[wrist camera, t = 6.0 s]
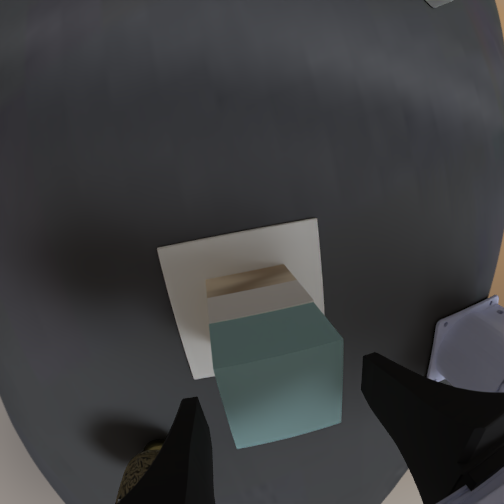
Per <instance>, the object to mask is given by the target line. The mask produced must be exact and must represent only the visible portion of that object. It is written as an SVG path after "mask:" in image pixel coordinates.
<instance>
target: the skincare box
mask: <svg viewBox="0 0 504 504" xmlns="http://www.w3.org/2000/svg"><path fill="white" fill-rule="evenodd" d="M425 1H426V2H427V3H428V4H429V5H430V6H432V7H433V8H437V7H439V6H441V5H444V4H446V3H448V2H451V1H453V0H425Z"/></svg>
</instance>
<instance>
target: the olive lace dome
mask: <svg viewBox="0 0 504 504" xmlns="http://www.w3.org/2000/svg"><path fill="white" fill-rule="evenodd" d="M164 442H165V440H154V441H151V442H149V443H148V444H147V445H146V446H145V448H144V450H143V452H142V453H140V454H138V455H136V456H135V457H134V458H133V459H132V460H131V461H130V462H129V464H128V465H127V467H126V470H125V472H124V475H123V478H122V481H121V484H120V488H119V491H118V495H117V499H116V503H115V504H117V503H118V502H119V501H120V500H121V499H122V498H123V497H124V496H125V495H126V494H127V493H128V492H129V491H130V490H131V489H132V488H133V487H134V486H135V485H136V484H137V482H138V481H139V480H140V479H141V478H142V476H143V475H144V474H145V472H146V471H147V470H148V468H149V467H150V465H151V464H152V462H153V461H154V459H155V458H156V456H157V454H158V453H159V451H160V449H161V447H162V445H163V444H164Z"/></svg>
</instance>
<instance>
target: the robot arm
mask: <svg viewBox="0 0 504 504" xmlns="http://www.w3.org/2000/svg"><path fill="white" fill-rule="evenodd" d="M498 300H499V297H498V296H497V295H494V296H492V297H490V298H488V299H486V300H484V301H481V302H479V303H477V304H475V305H473V306H471V307H469V308H466V309H464V310H462V311H460V312H457V313H455V314H453V315H451V316H448V317H446V318H444V319H441V320H439V321H438V322H437V324H436V329H435V336H434V342H433V348H432V353H431V358H430V364H429V369H428V373H427V377H424V376H422V375H419V374H417V373H415V372H413V371H411V370H409V369H407V368H405V367H403V366H401V365H399V364H397V363H395V362H393V361H391V360H389V359H388V358H386V357H384V356H382V355H380V354H378V353H376V352H374V353H371V354H368V355H365V356H363V368H362V384H361V390H362V392H363V394H364V396H365V399H366V400H367V402H368V404H369V406H370V408H371V409H372V411H373V412H374V414H375V415H376V416H377V418H378V419H379V421H380V422H381V423H382V425H383V426H384V428H385V429H386V430H387V432H388V433H389V435H390V436H391V437H392V439H393V440H394V442H395V443H396V445H397V447H398V448H399V450H400V452H401V454H402V456H403V458H404V460H405V462H406V464H407V466H408V468H409V470H410V472H411V474H412V476H413V478H414V481H415V483H416V485H417V488H418V490H419V493H420V496H421V498H422V501H423V504H504V308H503V307H502V306H500V305H498ZM443 379H446V380H447V381H449V382H450V383H451V384H452V385H453V386H454V387H453V386H450V385H446V384H443V383H440V382H439V381H441V380H443ZM117 504H215V499H214V488H213V460H212V444H211V437H210V431H209V427H208V424H207V421H206V419H205V416H204V413H203V411H202V408H201V405H200V402H199V400H198V397H192V398H185V399H183V400H182V401H181V404H180V407H179V409H178V412H177V415H176V417H175V420H174V422H173V425H172V427H171V429H170V431H169V434H168V436H167V438H166V440H165V442H164V444H163V445H162V447H161V449H160V451H159V453H158V454H157V456H156V458H155V459H154V461H153V462H152V464H151V465H150V467H149V468H148V470H147V471H146V472H145V474H144V475H143V476H142V478H141V479H140V480H139V481H138V482H137V484H136V485H135V486H134V487H133V488H132V489H131V490H130V491H129V492H128V493H127V494H126V495H125V496H124V497H123V498H122V499H121V500H120V501H119V502H118V503H117Z"/></svg>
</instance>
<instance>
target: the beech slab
mask: <svg viewBox="0 0 504 504" xmlns="http://www.w3.org/2000/svg"><path fill="white" fill-rule="evenodd" d="M293 280H297V279H296V278H295V277H294V276H293V275H292V273H291V272H290V271H289V270H288V268H287V267H286V266H285V265H284V264H282V265H277V266H272V267H267V268H262V269H257V270H252V271H247V272H242V273H237V274H232V275H227V276H222V277H217V278H212V279H206V292H207V298H211V297H216V296H221V295H226V294H231V293H236V292H241V291H246V290H251V289H256V288H261V287H265V286H270V285H275V284H280V283H284V282H289V281H293Z"/></svg>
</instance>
